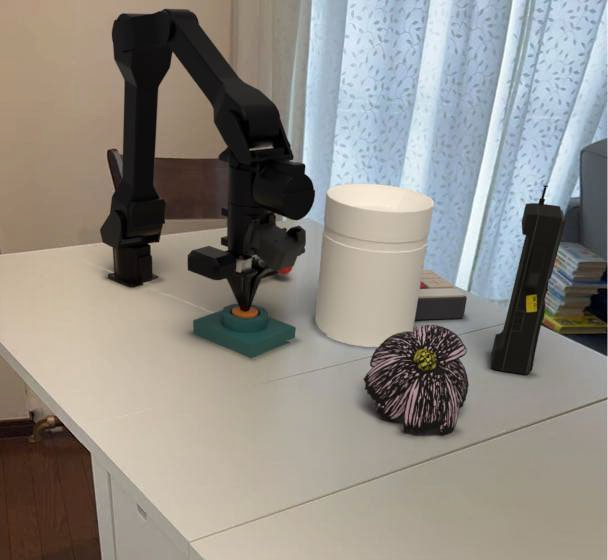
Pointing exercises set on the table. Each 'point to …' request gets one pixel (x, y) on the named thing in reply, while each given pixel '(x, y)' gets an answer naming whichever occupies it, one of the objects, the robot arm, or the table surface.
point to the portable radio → (529, 288)
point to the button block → (244, 331)
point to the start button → (248, 314)
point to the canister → (371, 262)
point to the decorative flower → (419, 379)
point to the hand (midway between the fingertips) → (244, 310)
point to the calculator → (438, 298)
